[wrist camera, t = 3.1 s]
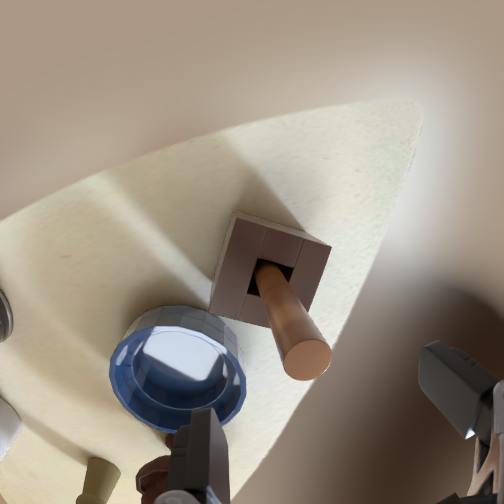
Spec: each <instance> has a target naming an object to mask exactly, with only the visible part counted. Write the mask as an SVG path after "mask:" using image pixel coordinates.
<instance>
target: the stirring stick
mask: <svg viewBox="0 0 504 504" xmlns="http://www.w3.org/2000/svg"><path fill="white" fill-rule="evenodd" d="M253 274H254V277H255V280H256V283H257V287H258V290H259V293H260V296H261V299H262V302H263V305H264V308H265V311H266V315H267V318H268V321H269V324H270V327H271V330H272V333H273V336H274V339H275V342H276V345H277V349H278V352H279V355H280V358H281V361H282V364H283V367H284V370H285V372H286V373H287V374H288V375H289V376H290V377H291V378H293V379H296V380H300V381H307V380H312V379H314V378H317V377H318V376H320V375H322V374H323V373H324V372H325V371H326V370H327V368H328V367H329V365H330V363H331V360H332V352H331V349H330V347H329V345H328V344H327V342H326V341H325V339H324V338H323V336H322V334H321V333H320V331H319V330H318V328H317V327H316V325H315V323H314V322H313V320H312V319H311V317H310V316H309V314H308V313H307V311H306V309H305V308H304V306H303V305H302V303H301V302H300V300H299V299H298V297H297V296H296V294H295V292H294V291H293V289H292V288H291V286H290V285H289V283H288V282H287V280H286V279H285V277H284V275H283V274H282V272H281V271H280V269H279V268H278V266H277V265H276V263H275V262H272V261H268V260H265V259H261V258H258V259H257V262H256V265H255V268H254V271H253Z"/></svg>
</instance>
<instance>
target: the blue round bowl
mask: <svg viewBox="0 0 504 504" xmlns="http://www.w3.org/2000/svg"><path fill="white" fill-rule="evenodd" d="M109 378H110V381H111V385H112V388H113V391H114V393H115V395H116V397H117V398H118V400H119V401H120V402H121V404H122V405H123V407H124V408H125V409H126V410H127V411H128V412H130V413H131V414H132V415H133V416H134V417H135V418H137V419H138V420H139V421H141V422H143V423H145V424H147V425H149V426H151V427H153V428H155V429H157V430H161V431H165V432H169V433H173V434H176V432H177V431H178V429H179V428H180V426H181V425H189V424H190V420H191V412H192V411H193V410H199V409H206V408H213V409H214V410H215V413H216V415H217V417H218V420H219V422H220V425H221V426H223V425H225V424H227V423H228V422H229V421H230V420H231V419H232V418H233V417H234V416H235V415H236V414H237V413H238V412H239V411H240V410H241V407H242V405H243V402H244V400H245V397H246V374H245V366H244V357H243V351H242V349H241V347H240V344H239V342H238V340H237V337H236V336H235V334H234V333H233V332H232V331H231V330H230V329H229V328H228V327H227V325H226V324H225V323H224V322H223V321H221V320H219V319H218V318H216V317H215V316H213V315H211V314H210V313H208V312H206V311H204V310H200V309H196V308H193V307H189V306H185V305H165V306H161V307H158V308H155V309H152V310H149V311H147V312H145V313H144V314H142V315H141V316H140V317H138V318H137V319H136V320H135V321H133V322H132V324H131V325H130V327H129V328H128V330H127V331H126V333H125V335H124V336H123V338H122V339H121V341H120V343H119V344H118V346H117V348H116V350H115V351H114V353H113V355H112V357H111V359H110V369H109Z"/></svg>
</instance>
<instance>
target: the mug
mask: <svg viewBox="0 0 504 504" xmlns="http://www.w3.org/2000/svg"><path fill="white" fill-rule="evenodd" d="M21 430H22V422H21V420H20V418H19V416H18V414H17V413H16V412H15V410H14V409H13V408H12V407H11V406H10V405H9V404H8V403H7V402H6V401H5V400H3V399H2V398H0V461H1V460H2V458H3V457H4V455H5V454H6V452H7V450H8V449H9V447H10V446H11V444H12V443H13V441H14V440H15V439H16V437H17V436H18V434H19V433H20V432H21Z"/></svg>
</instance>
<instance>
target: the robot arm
mask: <svg viewBox="0 0 504 504" xmlns="http://www.w3.org/2000/svg"><path fill="white" fill-rule="evenodd" d="M12 327H13V320H12V314H11V310H10V307H9V304H8V302H7V300H6V298H5V296H4V294H3V293H2V291H1V290H0V343H1V342H3V341H4V340H6V339H7V338H8V337H9V336H10V334H11V332H12ZM418 382H419V385H420V388H421V389H422V391H423V392H424V393H425V394H426V396H427V397H428V398H429V399H430V400H431V401H432V402H433V403H434V405H436V407H437V408H438V409H439V410H440V411H441V412H442V414H443V415H444V416H445V417H446V418H447V419H448V420H449V422H450V423H451V424H452V425H453V426H454V427H455V428H456V430H457V431H458V432H459V433H460V434H461V435H462V437H463V438H464V439H465V440H466V439H467V438H469V437H470V436H472V435H473V434H476V435H477V436H478V437H477V440H476V449H475V461H474V470H473V478H472V483H471V486H470V489H469V491H468V495H467V497H462V498H459V497H458V496H457V494H456V493H454V494H452V495H451V496H449V497H447V498H446V499H444V500H442V501H440V502H438V503H437V504H504V380H502V381H501V380H500V379H499V378H498V377H496V376H495V375H494V374H493V373H491V372H490V371H489V370H488V369H486V368H485V367H484V366H482V365H481V364H480V363H478V362H477V361H476V360H475V359H473V358H471V356H469V355H468V354H467V353H466V352H464V351H463V350H461V349H458V348H455V347H450V348H449V347H448V346H447V345H445V344H444V343H443V342H442V341H440V340H436V341H434V342H432V343H429V344H427V345H425V346H423V347H422V348H421V349H420V360H419V373H418ZM172 448H173V449H172V451H171V458H170V463H169V470H168V476H167V483H166V489H165V493H163V494H161V495H160V496H159V497H157V498H156V500H155V501H154V503H153V504H230V485H229V460H228V445H227V440H226V437H225V434H224V432H223V429H222V427H221V425H220V422H219V420H218V417H217V415H216V413H215V410H214V409H213V408H206V409H199V410H193V411H192V412H191V420H190V424H189V425H181V426H180V428H179V429H178V431H177V432H176V434H175V435H174V439H173V445H172Z"/></svg>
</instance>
